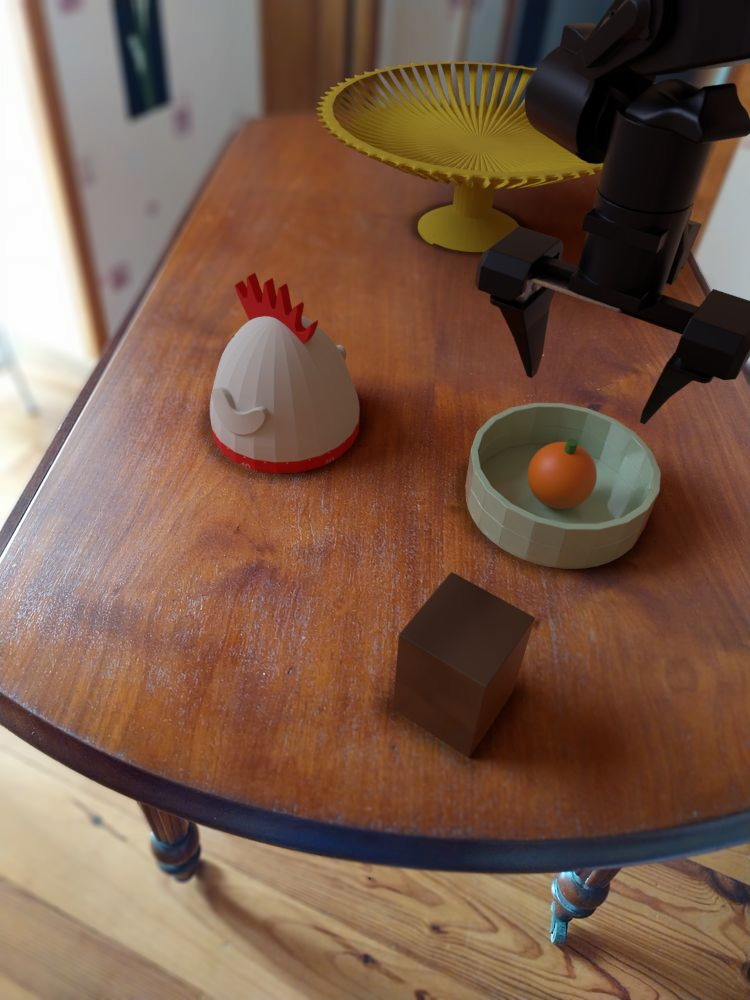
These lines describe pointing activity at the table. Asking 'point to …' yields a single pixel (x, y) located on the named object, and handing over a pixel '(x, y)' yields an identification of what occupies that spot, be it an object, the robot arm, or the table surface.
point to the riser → (459, 662)
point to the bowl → (549, 531)
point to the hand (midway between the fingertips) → (586, 397)
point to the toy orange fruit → (562, 474)
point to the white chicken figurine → (282, 388)
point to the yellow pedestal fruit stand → (454, 145)
